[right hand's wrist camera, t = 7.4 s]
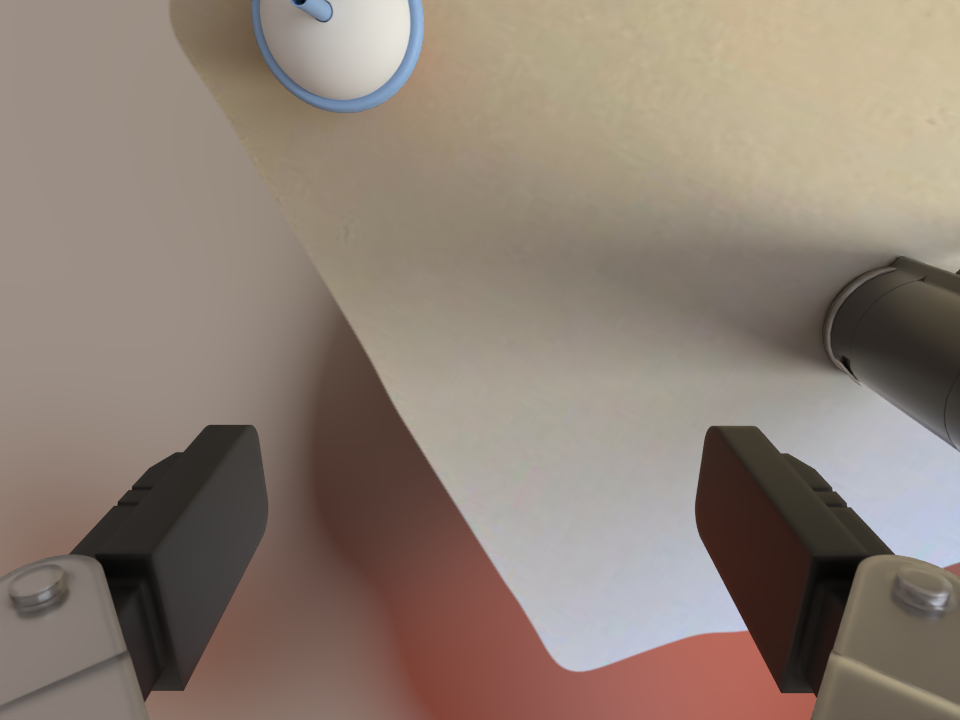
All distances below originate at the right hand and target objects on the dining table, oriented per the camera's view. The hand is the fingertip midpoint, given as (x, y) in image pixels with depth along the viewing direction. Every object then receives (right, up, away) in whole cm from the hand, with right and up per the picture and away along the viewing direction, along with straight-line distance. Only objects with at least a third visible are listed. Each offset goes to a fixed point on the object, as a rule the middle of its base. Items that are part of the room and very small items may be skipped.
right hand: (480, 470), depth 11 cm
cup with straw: (-8, +24, +32) cm, 40 cm away
